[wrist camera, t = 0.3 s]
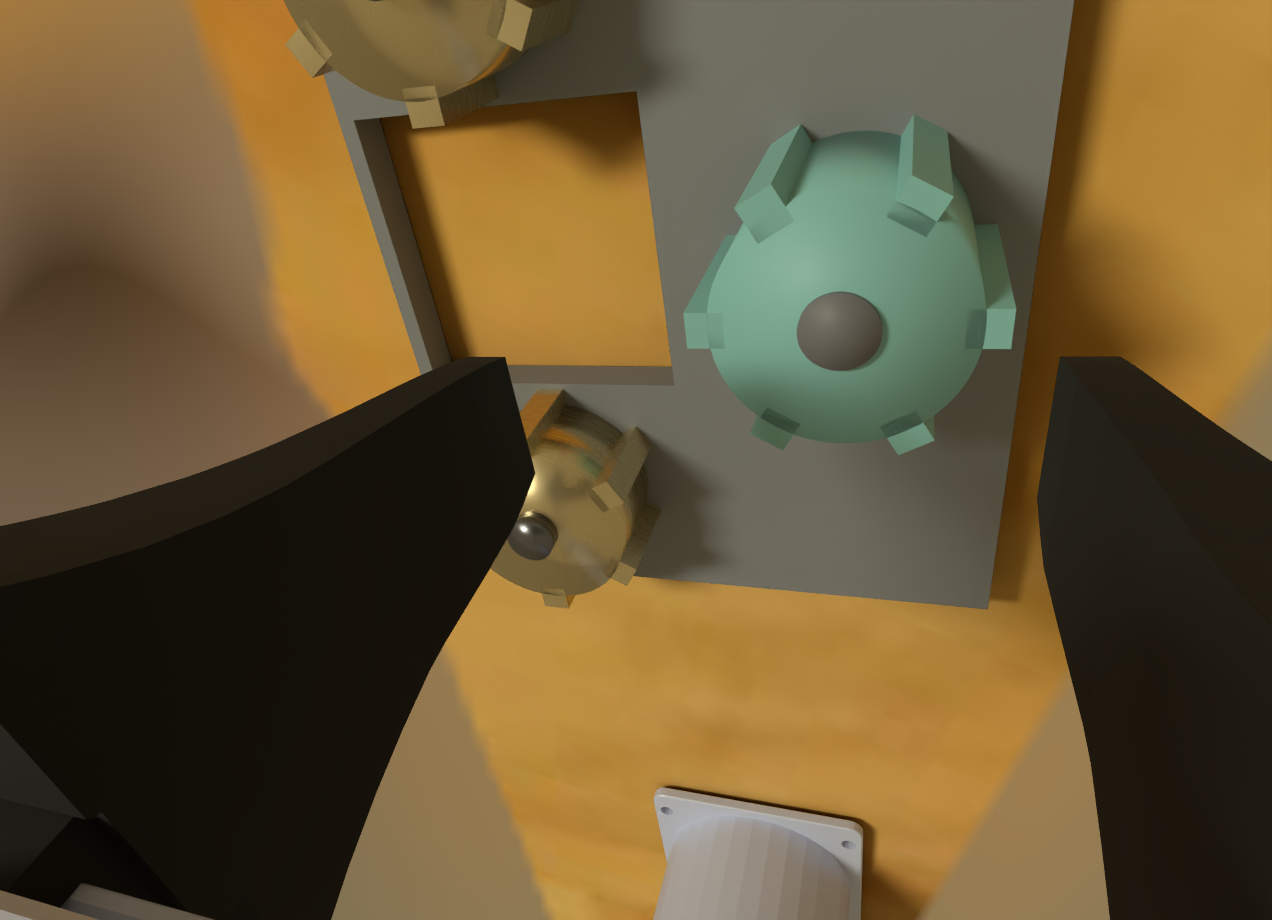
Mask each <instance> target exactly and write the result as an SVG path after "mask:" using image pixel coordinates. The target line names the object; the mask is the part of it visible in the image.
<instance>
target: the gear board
mask: <svg viewBox="0 0 1272 920" xmlns="http://www.w3.org/2000/svg"><path fill="white" fill-rule="evenodd" d="M284 2H285V4H286V6H287V8H288V10H289V12H290V14H291V16H292V17H293V19H294V21H295V22H296V24H297V26H298V27H299V28H298V29H297V31H296V32H295V33H294V34H293V36H292V37H291V38H290V39H289V41H288V42H287V43H286V46H287V47H288V48H289V50H290V51H291V52H292V53H293V55H294V56H295V57H296V58H297V60H298V61H299V62H300V63H301V64H302V66H303V67H304V68H305V69H306V71H307V72H308V73H309V74H310V75H311V77H312V78H313V77H316V76H319V75H323V74H324V77H325V80H326V83H327V86H328V90H329V93H330V96H331V99H332V102H333V105H334V108H335V111H336V114H337V117H338V120H339V123H340V126H341V130H342V133H343V136H344V139H345V142H346V145H347V148H348V151H349V154H350V157H351V160H352V163H353V166H354V170H355V173H356V176H357V179H358V182H359V185H360V188H361V191H362V194H363V197H364V200H365V203H366V206H367V210H368V213H369V216H370V219H371V222H372V225H373V228H374V231H375V234H376V237H377V240H378V243H379V247H380V250H381V253H382V256H383V259H384V262H385V265H386V268H387V271H388V274H389V277H390V280H391V283H392V287H393V290H394V293H395V296H396V299H397V302H398V305H399V308H400V311H401V314H402V317H403V320H404V323H405V327H406V330H407V333H408V336H409V339H410V342H411V345H412V348H413V351H414V354H415V357H416V360H417V363H418V367H419V370H420V373H421V375H423V374H425V373H427V372H429V371H431V370H434V369H436V368H438V367H441V366H443V365H446V364H448V363H451V362H452V361H451V358H450V354H449V351H448V347H447V344H446V341H445V337H444V334H443V331H442V327H441V324H440V321H439V317H438V314H437V311H436V307H435V304H434V300H433V297H432V294H431V290H430V287H429V284H428V280H427V277H426V274H425V270H424V267H423V264H422V260H421V257H420V254H419V250H418V247H417V243H416V240H415V237H414V233H413V230H412V227H411V223H410V220H409V217H408V213H407V210H406V207H405V203H404V200H403V197H402V193H401V190H400V186H399V183H398V180H397V176H396V173H395V170H394V166H393V163H392V160H391V156H390V153H389V150H388V146H387V143H386V139H385V136H384V133H383V129H382V126H381V123H380V119H379V118H382V117H392V116H401V115H409V117H410V121H411V124H412V128H413V129H415V128H425V127H435V126H445V125H447V124H449V123H451V122H453V121H455V120H457V119H459V118H461V117H463V116H465V115H466V114H468V113H470V112H472V111H474V110H476V109H478V108H480V107H489V106H498V105H508V104H518V103H527V102H537V101H547V100H556V99H566V98H576V97H585V96H595V95H605V94H614V93H624V92H634V91H637V99H638V106H639V114H640V122H641V130H642V137H643V145H644V153H645V161H646V169H647V176H648V184H649V192H650V200H651V207H652V215H653V223H654V231H655V238H656V246H657V254H658V262H659V269H660V277H661V285H662V293H663V300H664V308H665V316H666V324H667V332H668V339H669V347H670V355H671V363H672V367H650V366H534V365H507V366H508V370H509V374H510V378H511V382H512V385H513V389H514V393H515V397H516V401H517V405H518V408H519V412H520V416H521V420H522V424H523V428H524V431H525V435H526V439H527V443H528V447H529V450H530V454H531V458H532V462H533V466H534V470H535V476H534V478H533V481H532V484H531V486H530V489H529V491H528V494H527V497H526V499H525V502H524V505H523V507H522V509H521V512H520V514H519V516H518V519H517V521H516V523H515V526H514V528H513V530H512V531H511V533H510V535H509V537H508V538H507V540H506V542H505V544H504V545H503V547H502V549H501V550H500V552H499V554H498V556H497V557H496V559H495V561H494V562H493V564H492V566H491V567H490V568H491V569H492V570H493V571H495V572H496V573H498V574H499V575H500V576H502V577H503V578H505V579H507V580H509V581H511V582H512V583H514V584H517V585H519V586H521V587H523V588H526V589H529V590H532V591H535V592H539V593H542V595H543V599H544V602H545V606H551V607H560V608H569V607H570V605H571V603H572V601H573V599H574V597H575V595H578V594H583V593H587V592H590V591H592V590H594V589H596V588H599V587H600V586H602V585H603V584H604V583H606V582H607V581H608V580H609V579H610V578H612V579H614V580H616V581H618V582H620V583H622V584H624V585H626V586H627V585H628V583H629V582H630V580H631V578H632V577H633V576H639V577H650V578H660V579H671V580H682V581H692V582H703V583H714V584H724V585H735V586H745V587H756V588H767V589H777V590H788V591H799V592H809V593H820V594H830V595H841V596H852V597H862V598H873V599H884V600H894V601H905V602H915V603H926V604H937V605H947V606H958V607H969V608H979V609H988V604H989V597H990V590H991V583H992V576H993V569H994V562H995V555H996V547H997V540H998V533H999V526H1000V519H1001V512H1002V505H1003V498H1004V491H1005V484H1006V477H1007V470H1008V463H1009V456H1010V449H1011V442H1012V435H1013V428H1014V421H1015V414H1016V407H1017V400H1018V393H1019V386H1020V378H1021V371H1022V364H1023V357H1024V350H1025V343H1026V336H1027V329H1028V322H1029V315H1030V308H1031V301H1032V294H1033V287H1034V280H1035V273H1036V266H1037V259H1038V252H1039V245H1040V238H1041V231H1042V224H1043V216H1044V209H1045V202H1046V195H1047V188H1048V181H1049V174H1050V167H1051V160H1052V153H1053V146H1054V139H1055V132H1056V125H1057V118H1058V111H1059V104H1060V97H1061V90H1062V83H1063V76H1064V69H1065V62H1066V55H1067V47H1068V40H1069V33H1070V26H1071V19H1072V12H1073V5H1074V0H284ZM914 114H915V115H917V116H919V117H921V118H922V119H924V120H926V121H928V122H930V123H932V124H934V125H936V126H938V127H940V128H942V129H944V130H946V131H947V133H948V143H949V153H950V163H951V169H952V171H953V172H954V173H955V175H956V176H957V178H958V179H959V181H960V182H961V184H962V186H963V188H964V190H965V192H966V194H967V197H968V199H969V203H970V206H971V210H972V214H973V220H974V225H984V224H998V228H999V233H1000V237H1001V242H1002V246H1003V251H1004V255H1005V260H1006V264H1007V269H1008V273H1009V278H1010V282H1011V287H1012V292H1013V296H1014V301H1015V305H1016V315H1015V323H1014V330H1013V338H1012V346H1011V349H982V351H981V354H980V357H979V360H978V363H977V364H976V366H975V368H974V370H973V372H972V374H971V376H970V378H969V379H968V381H967V382H966V383H965V385H964V386H963V388H962V389H961V390H960V392H959V393H958V394H957V395H956V396H955V397H954V398H953V399H952V400H951V401H950V402H949V404H947V405H946V406H945V407H944V408H943V409H941V410H940V411H939V412H938V413H937V414H935V415H934V432H935V441H932V442H930V443H927V444H925V445H922V446H920V447H917V448H915V449H913V450H910V451H908V452H905V453H903V454H900V455H898V454H897V453H896V451H895V450H894V448H893V447H892V445H891V444H890V442H889V441H888V439H887V438H884V439H880V440H875V441H869V442H861V443H829V442H821V441H816V440H811V439H806V438H803V437H800V436H796V435H793V437H792V438H791V440H790V441H789V442H788V444H787V445H786V447H785V448H784V450H781V449H779V448H777V447H775V446H773V445H771V444H769V443H767V442H765V441H763V440H761V439H759V438H757V437H755V436H753V435H751V430H752V427H753V424H754V421H755V418H756V414H755V413H753V412H752V411H751V410H749V409H748V408H747V407H746V406H745V405H744V404H743V403H742V402H741V401H740V400H739V399H738V398H737V397H736V395H735V394H734V393H733V392H732V391H731V389H730V388H729V387H728V385H727V384H726V382H725V381H724V379H723V377H722V376H721V374H720V372H719V370H718V368H717V366H716V364H715V361H714V359H713V355H712V352H711V349H687V341H686V332H685V324H684V315H683V313H684V311H685V309H686V307H687V305H688V304H689V302H690V300H691V298H692V296H693V295H694V293H695V291H696V289H697V287H698V286H699V284H700V282H701V280H702V278H703V277H704V275H705V273H706V271H707V269H708V268H709V266H710V264H711V262H712V260H713V258H714V257H715V255H716V253H717V251H718V249H719V248H720V246H721V244H722V242H723V240H724V239H725V237H726V236H728V235H737V233H738V231H739V229H740V227H741V225H742V224H743V221H742V219H741V218H740V216H739V215H738V213H737V212H736V210H735V209H734V208H735V206H736V204H737V202H738V201H739V199H740V197H741V195H742V194H743V192H744V190H745V188H746V187H747V185H748V183H749V182H750V180H751V178H752V176H753V175H754V173H755V171H756V169H757V168H758V166H759V164H760V162H761V161H762V159H763V157H764V155H765V154H766V152H767V150H768V149H769V147H770V145H771V144H772V143H774V142H775V141H777V140H778V139H780V138H781V137H783V136H784V135H785V134H787V133H788V132H790V131H791V130H793V129H794V128H795V127H797V126H798V125H800V124H801V125H802V126H803V128H804V130H805V131H806V133H807V135H808V136H809V138H810V140H811V141H812V143H813V142H815V141H818V140H820V139H822V138H825V137H828V136H832V135H835V134H839V133H844V132H851V131H880V132H888V133H892V134H896V135H900V136H901V135H902V134H903V132H904V130H905V129H906V127H907V125H908V124H909V122H910V120H911V118H912V117H913V115H914Z"/></svg>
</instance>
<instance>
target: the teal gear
mask: <svg viewBox="0 0 1272 920" xmlns="http://www.w3.org/2000/svg"><path fill="white" fill-rule="evenodd" d="M734 209H735V210H736V212H737V213H738V215H739V216H740V218H741V219H742V221H743V224H742V225H741V227H740V229H739V231H738V233H737V235H728V236H726V237H725V239H724V240H723V242H722V244H721V246H720V248H719V249H718V251H717V253H716V255H715V257H714V258H713V260H712V262H711V264H710V266H709V268H708V269H707V271H706V273H705V275H704V277H703V278H702V280H701V282H700V284H699V286H698V287H697V289H696V291H695V293H694V295H693V296H692V298H691V300H690V302H689V304H688V305H687V307H686V309H685V311H684V313H683V315H684V324H685V332H686V341H687V349H711V352H712V355H713V359H714V361H715V364H716V366H717V368H718V370H719V372H720V374H721V376H722V377H723V379H724V381H725V382H726V384H727V385H728V387H729V388H730V389H731V391H732V392H733V393H734V394H735V395H736V397H737V398H738V399H739V400H740V401H741V402H742V403H743V404H744V405H745V406H746V407H747V408H748V409H749V410H751V411H752V412H753V413H755V414H756V418H755V421H754V424H753V427H752V430H751V435H753V436H755V437H757V438H759V439H761V440H763V441H765V442H767V443H769V444H771V445H773V446H775V447H777V448H779V449H781V450H784V448H785V447H786V445H787V444H788V442H789V441H790V440H791V438H792V437H793V435H796V436H800V437H803V438H806V439H811V440H816V441H821V442H829V443H861V442H869V441H875V440H880V439H884V438H887V439H888V441H889V442H890V444H891V445H892V447H893V448H894V450H895V451H896V453H897V454H898V455H900V454H903V453H905V452H908V451H910V450H913V449H915V448H917V447H920V446H922V445H925V444H927V443H930V442H932V441H935V432H934V415H935V414H937V413H938V412H939V411H940V410H941V409H943V408H944V407H945V406H946V405H947V404H949V402H950V401H951V400H952V399H953V398H954V397H955V396H956V395H957V394H958V393H959V392H960V390H961V389H962V388H963V386H964V385H965V383H966V382H967V381H968V379H969V378H970V376H971V374H972V372H973V370H974V368H975V366H976V364H977V363H978V360H979V357H980V354H981V351H982V349H1011V346H1012V338H1013V330H1014V323H1015V315H1016V305H1015V301H1014V296H1013V292H1012V287H1011V282H1010V278H1009V273H1008V269H1007V264H1006V260H1005V255H1004V251H1003V246H1002V242H1001V237H1000V233H999V228H998V224H984V225H974V220H973V214H972V210H971V206H970V203H969V199H968V197H967V194H966V192H965V190H964V188H963V186H962V184H961V182H960V181H959V179H958V178H957V176H956V175H955V173H954V172H953V171H952V169H951V163H950V153H949V143H948V133H947V131H946V130H944V129H942V128H940V127H938V126H936V125H934V124H932V123H930V122H928V121H926V120H924V119H922V118H921V117H919V116H917V115H915V114H914V115H913V117H912V118H911V120H910V122H909V124H908V125H907V127H906V129H905V130H904V132H903V134H902V135H901V136H900V135H896V134H892V133H888V132H880V131H851V132H844V133H839V134H835V135H832V136H828V137H825V138H822V139H820V140H818V141H815V142H813V143H812V141H811V140H810V138H809V136H808V135H807V133H806V131H805V130H804V128H803V126H802V125H801V124H800V125H798V126H797V127H795V128H794V129H793V130H791V131H790V132H788V133H787V134H785V135H784V136H783V137H781V138H780V139H778V140H777V141H775V142H774V143H772V144H771V145H770V147H769V149H768V150H767V152H766V154H765V155H764V157H763V159H762V161H761V162H760V164H759V166H758V168H757V169H756V171H755V173H754V175H753V176H752V178H751V180H750V182H749V183H748V185H747V187H746V188H745V190H744V192H743V194H742V195H741V197H740V199H739V201H738V202H737V204H736V206H735V208H734Z"/></svg>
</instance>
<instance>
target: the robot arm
mask: <svg viewBox="0 0 1272 920" xmlns="http://www.w3.org/2000/svg"><path fill="white" fill-rule="evenodd" d="M534 476H535V470H534V466H533V462H532V458H531V454H530V450H529V447H528V443H527V439H526V435H525V431H524V428H523V424H522V420H521V416H520V412H519V408H518V405H517V401H516V397H515V393H514V389H513V385H512V382H511V378H510V374H509V370H508V366H507V363H506V359H505V357H467V358H463V359H460V360H457V361H454V362H451V363H448V364H446V365H443V366H441V367H438V368H436V369H434V370H431V371H429V372H427V373H425V374H423V375H420V376H418V377H416V378H414V379H412V380H410V381H408V382H406V383H403V384H401V385H399V386H397V387H395V388H393V389H391V390H389V391H387V392H385V393H383V394H381V395H379V396H377V397H375V398H373V399H371V400H368V401H366V402H364V403H362V404H360V405H358V406H356V407H354V408H352V409H350V410H348V411H346V412H344V413H342V414H340V415H337V416H335V417H333V418H331V419H329V420H326V421H324V422H322V423H320V424H318V425H315V426H313V427H311V428H309V429H307V430H304V431H302V432H300V433H298V434H296V435H294V436H291V437H289V438H287V439H285V440H283V441H280V442H278V443H276V444H273V445H271V446H268V447H266V448H264V449H261V450H259V451H256V452H254V453H251V454H249V455H246V456H244V457H241V458H239V459H236V460H233V461H230V462H228V463H225V464H222V465H220V466H217V467H214V468H211V469H209V470H206V471H203V472H200V473H197V474H194V475H192V476H189V477H186V478H183V479H179V480H176V481H173V482H169V483H166V484H163V485H159V486H156V487H153V488H149V489H146V490H143V491H139V492H136V493H133V494H130V495H126V496H123V497H119V498H116V499H113V500H109V501H106V502H102V503H98V504H94V505H90V506H86V507H82V508H79V509H75V510H70V511H66V512H62V513H58V514H54V515H49V516H45V517H40V518H36V519H31V520H27V521H23V522H18V523H13V524H8V525H4V526H0V920H331V918H332V915H333V912H334V909H335V906H336V903H337V900H338V897H339V894H340V891H341V888H342V885H343V881H344V879H345V875H346V873H347V870H348V867H349V864H350V861H351V859H352V856H353V853H354V851H355V848H356V845H357V842H358V840H359V837H360V835H361V832H362V829H363V827H364V824H365V821H366V819H367V816H368V813H369V811H370V808H371V805H372V803H373V800H374V797H375V794H376V792H377V789H378V787H379V785H380V782H381V780H382V777H383V775H384V773H385V770H386V768H387V766H388V763H389V761H390V758H391V756H392V754H393V751H394V749H395V746H396V744H397V742H398V739H399V737H400V734H401V732H402V730H403V727H404V725H405V723H406V721H407V719H408V717H409V714H410V712H411V710H412V708H413V706H414V703H415V701H416V699H417V697H418V695H419V692H420V690H421V688H422V686H423V684H424V681H425V680H426V677H427V675H428V673H429V671H430V669H431V667H432V665H433V663H434V662H435V660H436V658H437V656H438V654H439V653H440V651H441V649H442V647H443V645H444V643H445V642H446V640H447V639H448V637H449V635H450V634H451V632H452V630H453V629H454V627H455V625H456V624H457V622H458V620H459V619H460V617H461V615H462V614H463V612H464V610H465V609H466V607H467V605H468V604H469V602H470V601H471V599H472V597H473V596H474V594H475V592H476V591H477V589H478V587H479V586H480V584H481V582H482V581H483V579H484V577H485V576H486V574H487V572H488V571H489V569H490V567H491V566H492V564H493V562H494V561H495V559H496V557H497V556H498V554H499V552H500V550H501V549H502V547H503V545H504V544H505V542H506V540H507V538H508V537H509V535H510V533H511V531H512V530H513V528H514V526H515V523H516V521H517V519H518V516H519V514H520V512H521V509H522V507H523V505H524V502H525V499H526V497H527V494H528V491H529V489H530V486H531V484H532V481H533V478H534ZM1037 502H1038V514H1039V526H1040V537H1041V546H1042V556H1043V565H1044V570H1045V575H1046V579H1047V583H1048V587H1049V591H1050V595H1051V599H1052V604H1053V608H1054V612H1055V616H1056V620H1057V624H1058V628H1059V632H1060V636H1061V640H1062V644H1063V648H1064V651H1065V655H1066V659H1067V663H1068V667H1069V671H1070V675H1071V679H1072V683H1073V687H1074V691H1075V695H1076V699H1077V703H1078V707H1079V711H1080V715H1081V719H1082V722H1083V727H1084V732H1085V737H1086V742H1087V746H1088V752H1089V757H1090V762H1091V768H1092V776H1093V784H1094V791H1095V799H1096V807H1097V814H1098V822H1099V830H1100V837H1101V845H1102V853H1103V862H1104V870H1105V879H1106V888H1107V896H1108V905H1109V914H1110V920H1272V461H1270V460H1269V459H1267V458H1265V457H1264V456H1263V455H1261V454H1260V453H1258V452H1257V451H1255V450H1253V449H1252V448H1250V447H1249V446H1247V445H1246V444H1244V443H1243V442H1241V441H1240V440H1238V439H1237V438H1235V437H1234V436H1232V435H1231V434H1229V433H1228V432H1226V431H1225V430H1224V429H1222V428H1221V427H1219V426H1218V425H1216V424H1215V423H1214V422H1212V421H1211V420H1209V419H1208V418H1206V417H1205V416H1204V415H1202V414H1201V413H1199V412H1198V411H1197V410H1195V409H1194V408H1192V407H1191V406H1190V405H1188V404H1187V403H1185V402H1184V401H1183V400H1181V399H1180V398H1179V397H1177V396H1176V395H1175V394H1173V393H1172V392H1170V391H1169V390H1168V389H1166V388H1165V387H1164V386H1162V385H1161V384H1159V383H1158V382H1157V381H1155V380H1154V379H1153V378H1151V377H1150V376H1148V375H1147V374H1146V373H1144V372H1143V371H1141V370H1140V369H1139V368H1137V367H1136V366H1134V365H1133V364H1131V363H1130V362H1128V361H1126V360H1125V359H1123V358H1121V357H1060V360H1059V366H1058V372H1057V379H1056V385H1055V391H1054V397H1053V403H1052V409H1051V415H1050V422H1049V428H1048V434H1047V440H1046V446H1045V452H1044V459H1043V465H1042V471H1041V477H1040V483H1039V489H1038V495H1037ZM654 804H655V809H656V813H657V818H658V822H659V827H660V832H661V836H662V841H663V846H664V850H665V855H666V860H667V867H666V871H665V875H664V879H663V883H662V887H661V891H660V894H659V898H658V902H657V906H656V910H655V914H654V918H653V920H861V893H862V860H863V828H862V827H861V826H860V825H859V824H857V823H856V822H853V821H850V820H844V819H839V818H833V817H828V816H822V815H816V814H811V813H805V812H799V811H794V810H788V809H783V808H777V807H771V806H766V805H760V804H755V803H749V802H743V801H738V800H732V799H726V798H721V797H715V796H710V795H704V794H698V793H693V792H687V791H682V790H676V789H670V788H659V789H657V790H656V793H655V796H654Z"/></svg>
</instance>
